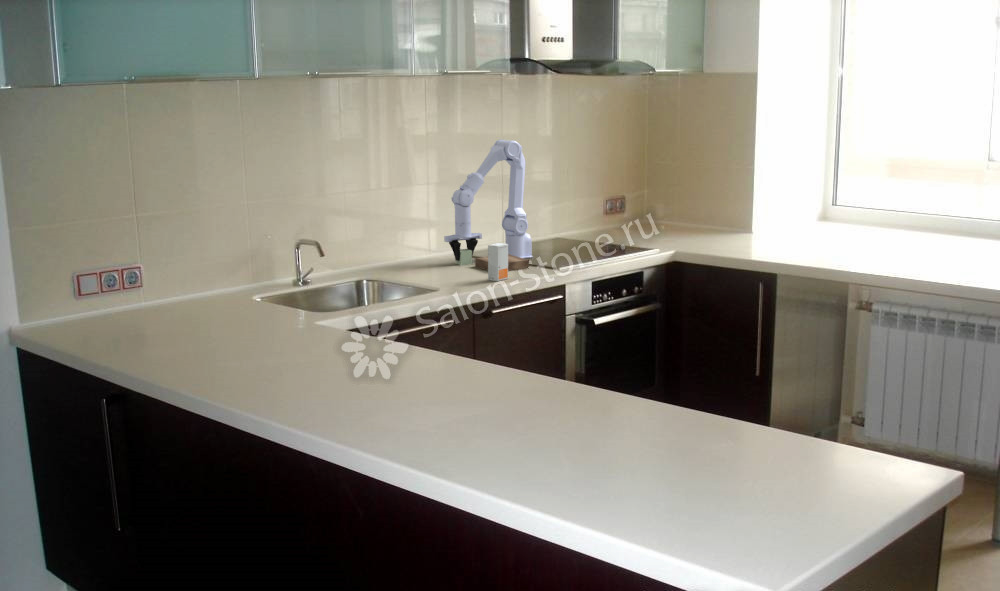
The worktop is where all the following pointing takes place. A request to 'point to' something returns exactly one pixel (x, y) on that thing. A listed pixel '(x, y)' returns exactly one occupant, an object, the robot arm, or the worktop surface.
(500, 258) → the skincare box
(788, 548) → the worktop surface
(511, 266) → the walnut base
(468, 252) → the sage block
